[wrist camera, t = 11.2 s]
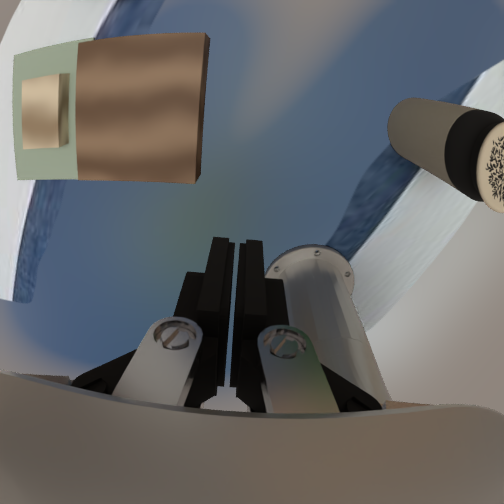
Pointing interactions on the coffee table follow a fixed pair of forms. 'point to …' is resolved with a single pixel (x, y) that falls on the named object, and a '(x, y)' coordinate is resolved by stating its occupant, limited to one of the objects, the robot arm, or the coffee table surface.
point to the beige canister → (453, 146)
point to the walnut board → (141, 107)
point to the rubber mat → (65, 158)
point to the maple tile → (45, 111)
